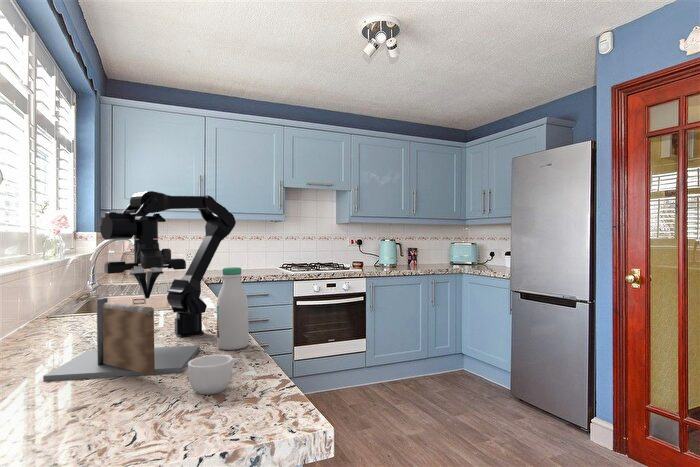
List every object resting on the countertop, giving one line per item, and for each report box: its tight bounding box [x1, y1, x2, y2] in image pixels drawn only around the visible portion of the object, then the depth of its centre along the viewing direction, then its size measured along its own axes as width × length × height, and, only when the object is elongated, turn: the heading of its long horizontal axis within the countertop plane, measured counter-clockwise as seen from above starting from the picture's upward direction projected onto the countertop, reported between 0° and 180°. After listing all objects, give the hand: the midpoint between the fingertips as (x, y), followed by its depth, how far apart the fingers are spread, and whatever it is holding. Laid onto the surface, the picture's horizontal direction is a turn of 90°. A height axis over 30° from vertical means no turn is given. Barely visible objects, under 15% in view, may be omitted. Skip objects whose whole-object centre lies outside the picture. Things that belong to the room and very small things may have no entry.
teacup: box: [187, 354, 241, 396], centre depth 76 cm, size 10×8×5 cm
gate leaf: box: [102, 302, 155, 375], centre depth 85 cm, size 15×2×13 cm, turn 60°
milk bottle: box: [216, 266, 250, 351], centre depth 106 cm, size 8×8×20 cm
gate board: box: [42, 344, 201, 382], centre depth 93 cm, size 26×18×1 cm
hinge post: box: [96, 297, 108, 365], centre depth 89 cm, size 2×2×14 cm
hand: (147, 298), depth 110 cm, fingers closed
